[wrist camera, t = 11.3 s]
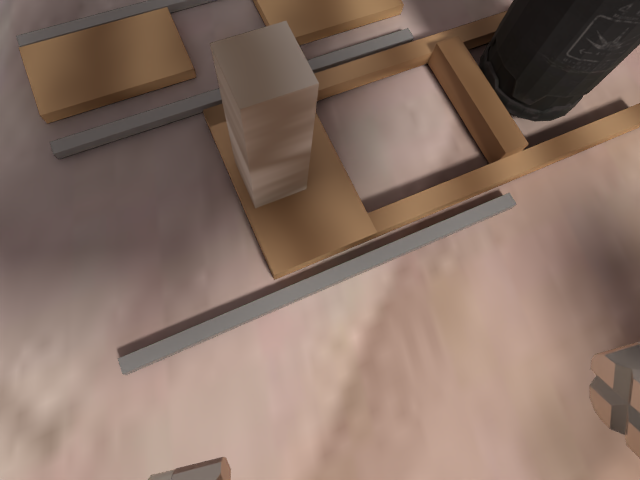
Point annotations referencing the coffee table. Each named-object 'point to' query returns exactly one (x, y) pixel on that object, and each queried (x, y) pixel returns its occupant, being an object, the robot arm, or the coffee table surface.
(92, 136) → the lane rails
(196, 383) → the coffee table surface
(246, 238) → the coffee table surface
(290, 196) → the wooden frame with post
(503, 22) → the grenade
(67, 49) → the broken strip
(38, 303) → the coffee table surface
